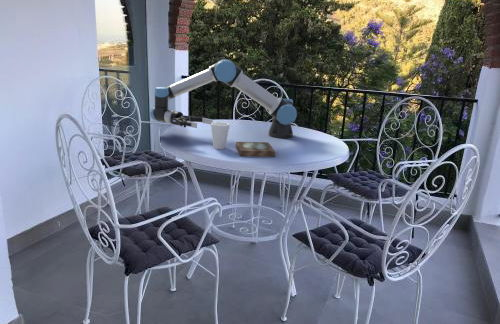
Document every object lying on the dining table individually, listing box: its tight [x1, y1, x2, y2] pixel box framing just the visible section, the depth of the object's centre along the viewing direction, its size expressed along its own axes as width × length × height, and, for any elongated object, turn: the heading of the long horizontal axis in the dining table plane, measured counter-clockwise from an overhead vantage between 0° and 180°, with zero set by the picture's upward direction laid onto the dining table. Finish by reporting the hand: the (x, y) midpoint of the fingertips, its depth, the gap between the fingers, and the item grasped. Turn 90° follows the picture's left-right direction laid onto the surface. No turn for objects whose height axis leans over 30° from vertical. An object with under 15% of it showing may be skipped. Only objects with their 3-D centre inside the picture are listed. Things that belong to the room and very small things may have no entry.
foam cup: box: [210, 121, 230, 150], centre depth 218 cm, size 10×9×13 cm
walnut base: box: [235, 141, 276, 158], centre depth 215 cm, size 18×18×3 cm
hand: (204, 123), depth 221 cm, fingers open, 13 cm apart
